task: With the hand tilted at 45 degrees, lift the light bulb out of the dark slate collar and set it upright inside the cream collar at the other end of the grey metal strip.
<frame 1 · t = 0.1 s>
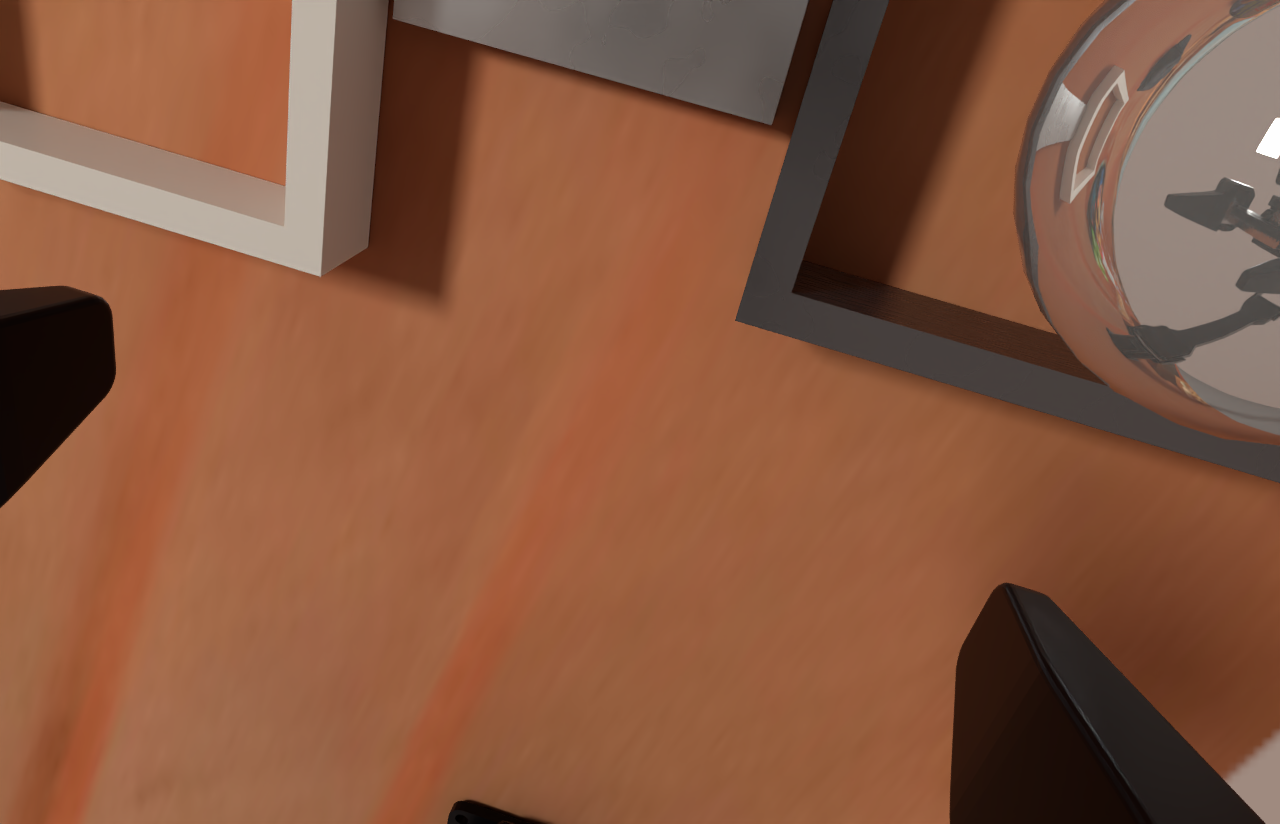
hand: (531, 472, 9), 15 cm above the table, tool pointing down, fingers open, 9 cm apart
light bulb: (1127, 88, 19), resting in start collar
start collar: (1129, 90, 19), on the table
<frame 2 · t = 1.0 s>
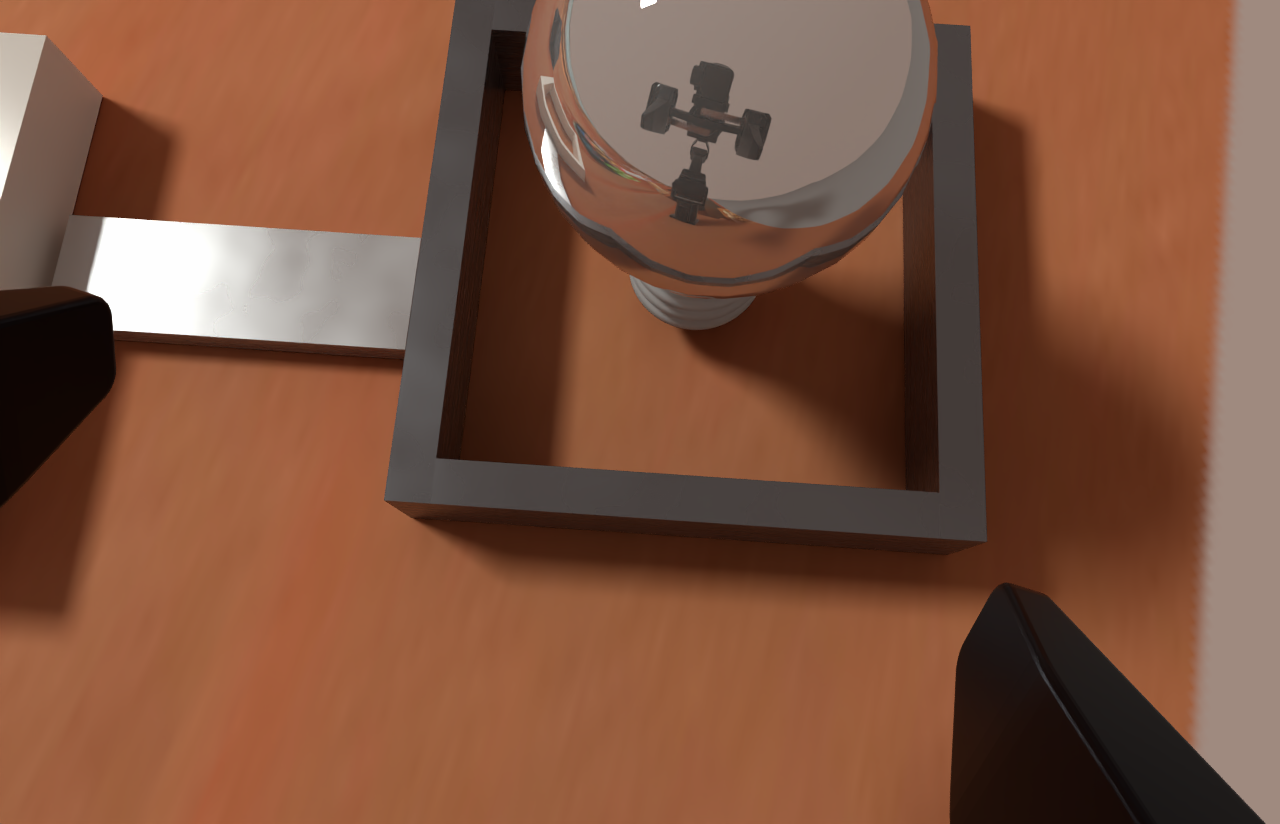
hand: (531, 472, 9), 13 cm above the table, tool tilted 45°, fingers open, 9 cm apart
light bulb: (692, 290, 24), resting in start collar
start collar: (692, 286, 24), on the table
rail strip: (247, 293, 24), on the table
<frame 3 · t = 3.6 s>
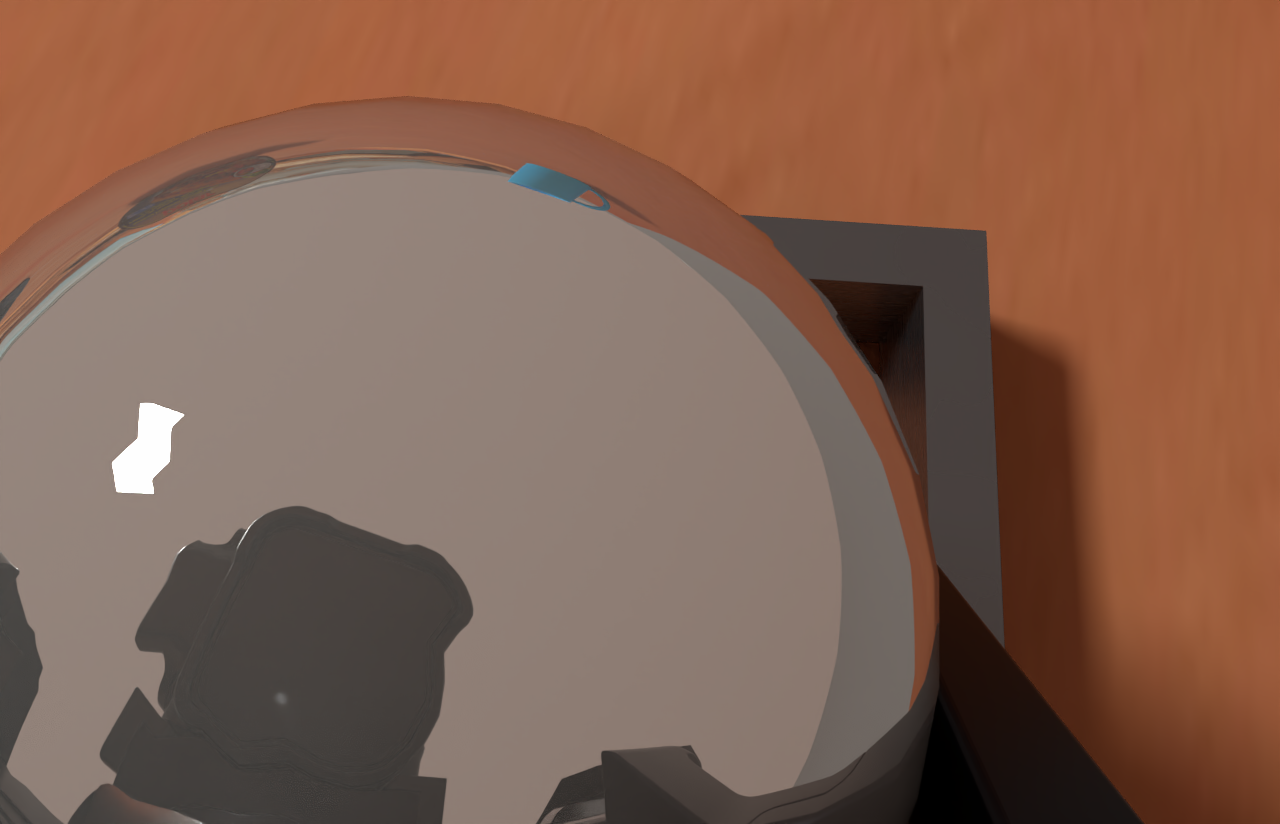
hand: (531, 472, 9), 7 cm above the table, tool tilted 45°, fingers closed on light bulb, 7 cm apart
light bulb: (545, 638, 15), resting in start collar, touching gripper
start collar: (544, 638, 15), on the table
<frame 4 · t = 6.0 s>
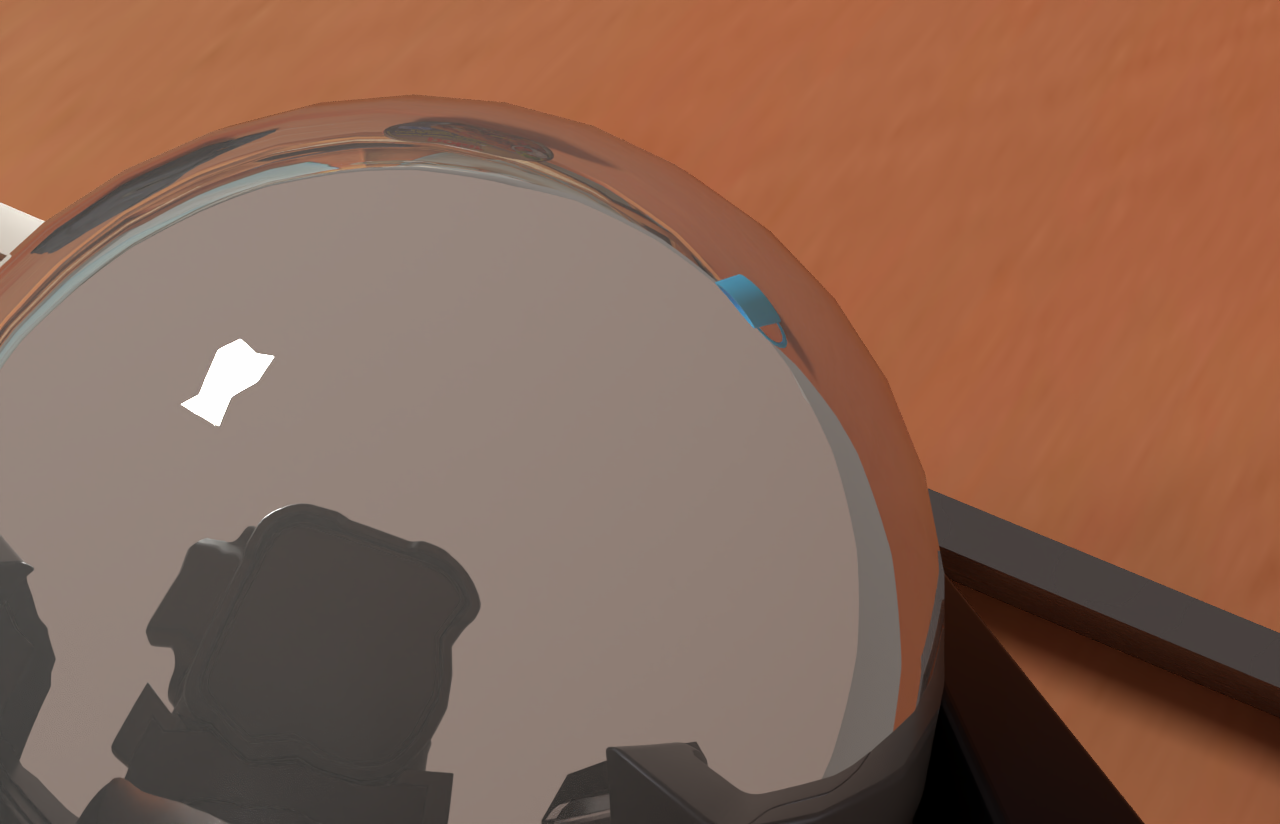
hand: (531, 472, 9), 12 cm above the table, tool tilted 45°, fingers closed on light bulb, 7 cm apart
light bulb: (550, 637, 15), point 5 cm above the table, touching gripper
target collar: (23, 547, 20), on the table
when the fingers open (8 cm above the table, at t = 8.3 s): light bulb drops 1 cm, resting in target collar.
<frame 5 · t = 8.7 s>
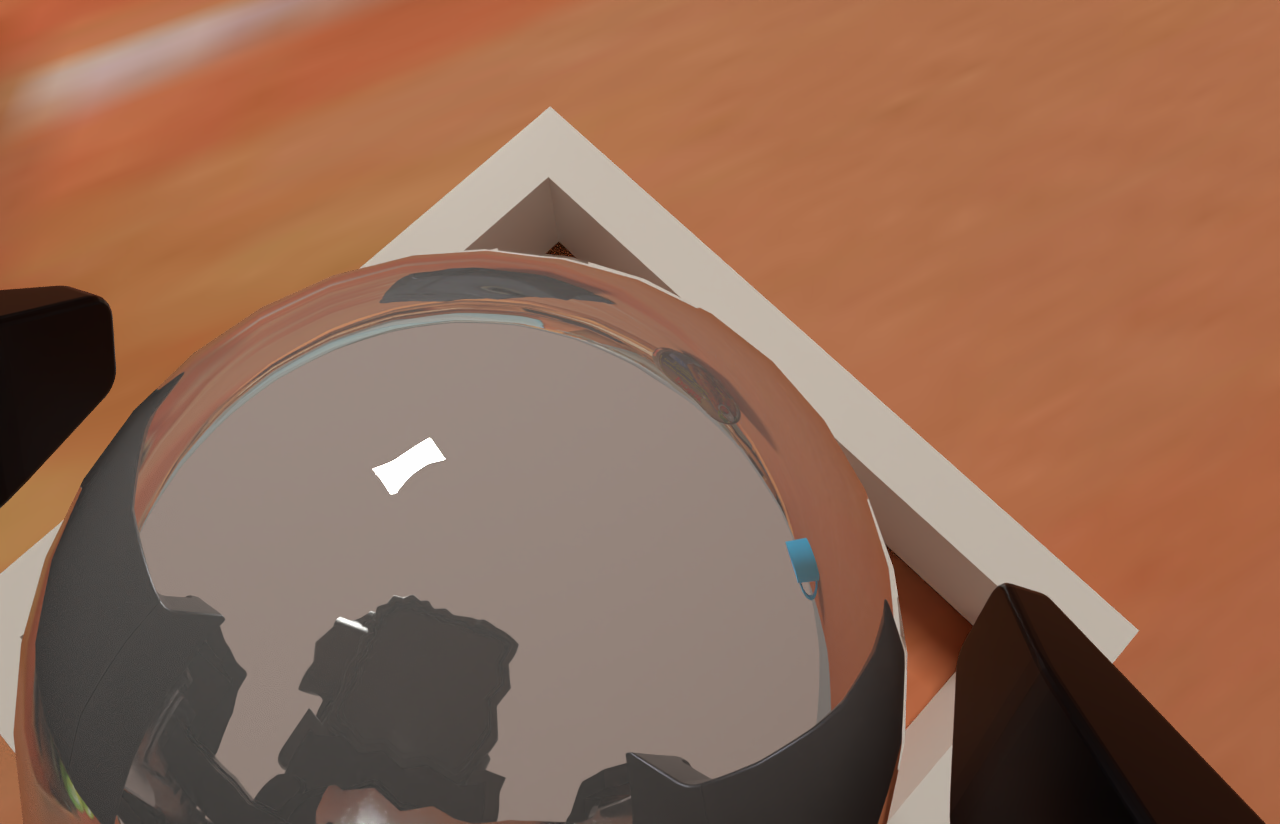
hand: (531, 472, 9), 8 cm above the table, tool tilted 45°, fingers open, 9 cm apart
light bulb: (555, 656, 16), resting in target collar
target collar: (550, 639, 16), on the table
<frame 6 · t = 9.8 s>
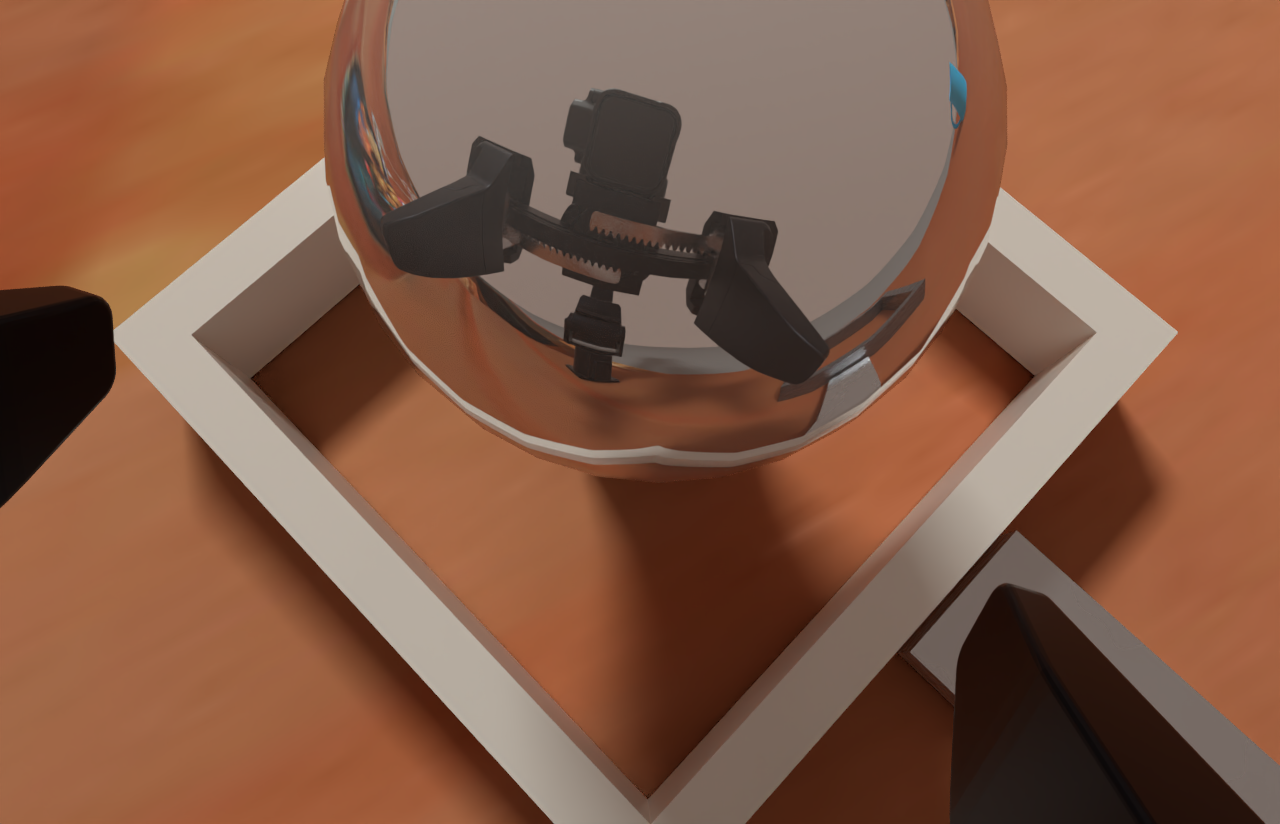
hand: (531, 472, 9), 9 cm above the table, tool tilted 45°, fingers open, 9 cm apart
light bulb: (648, 394, 18), resting in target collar
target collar: (644, 377, 18), on the table
rail strip: (1144, 774, 16), on the table
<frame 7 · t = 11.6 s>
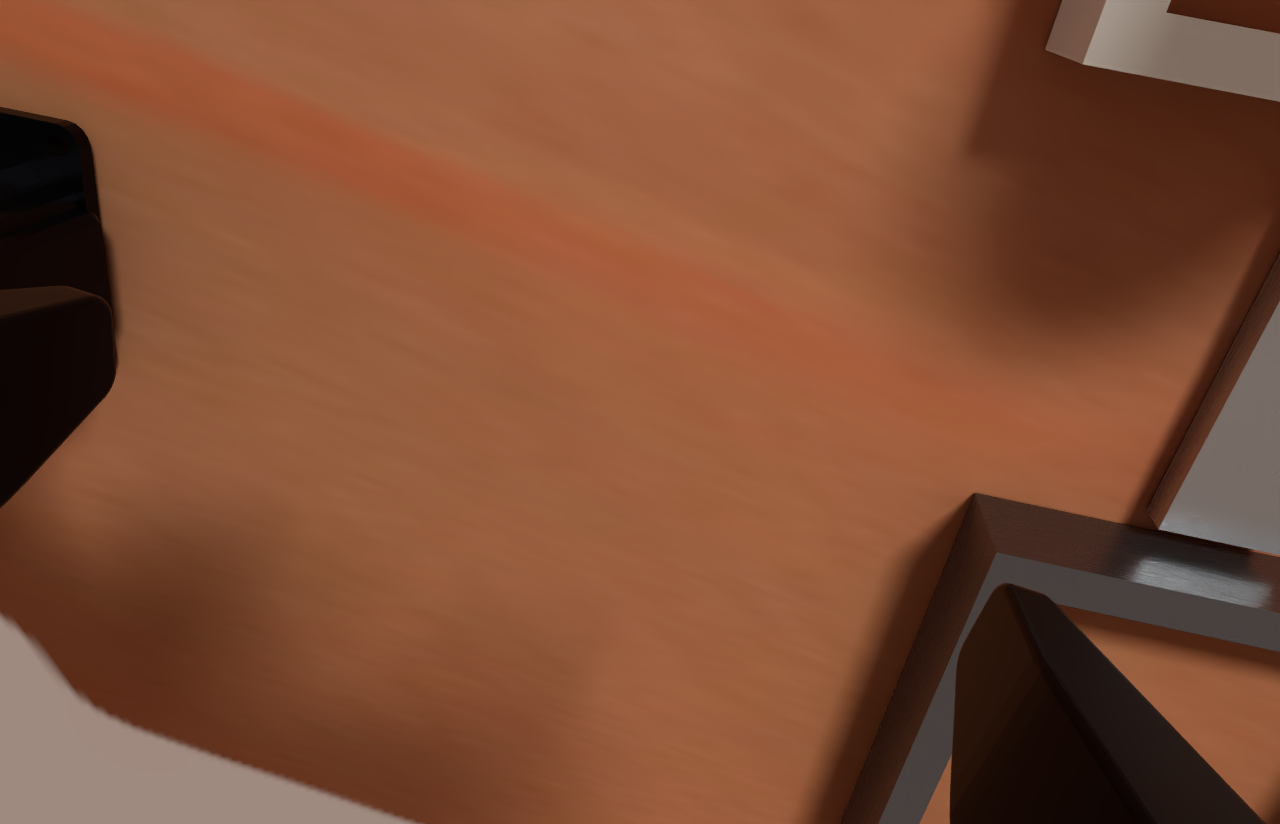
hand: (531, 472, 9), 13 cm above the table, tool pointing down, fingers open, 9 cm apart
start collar: (1129, 736, 25), on the table
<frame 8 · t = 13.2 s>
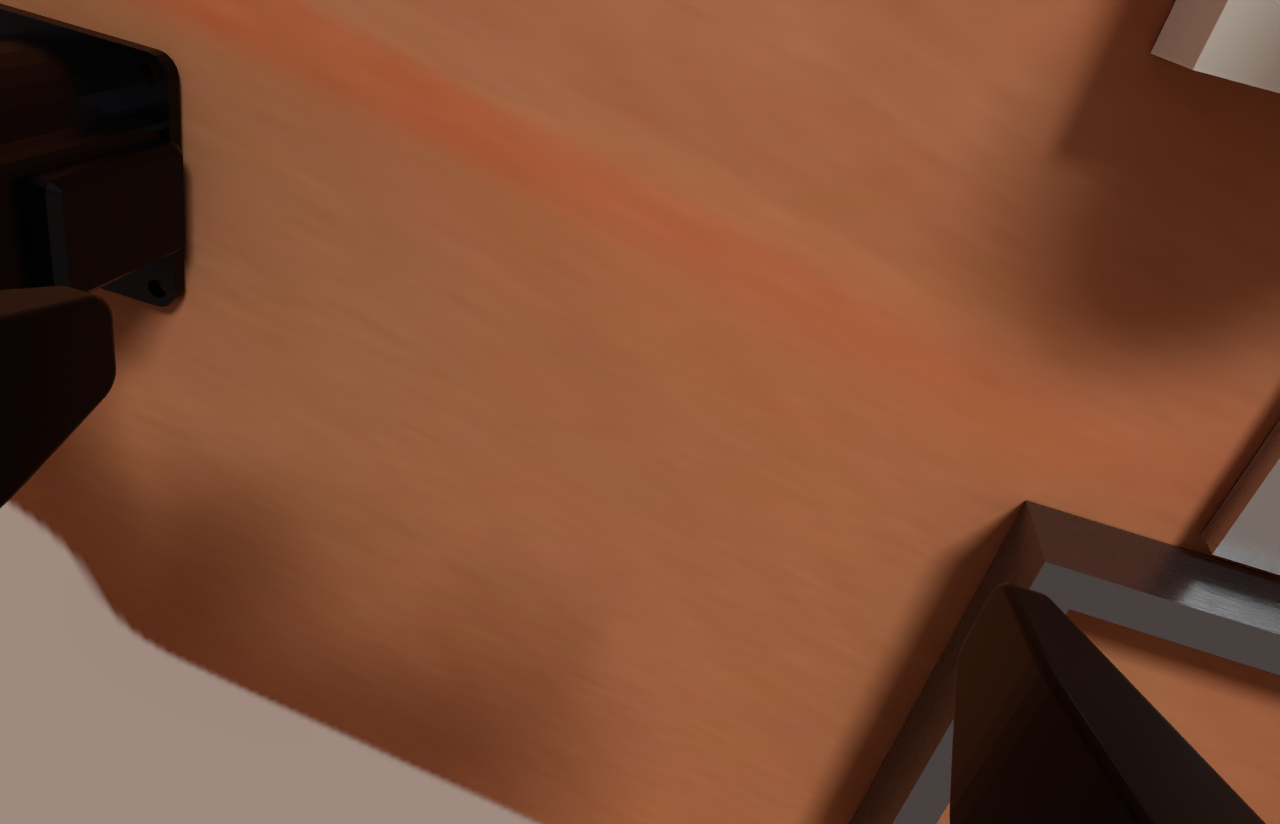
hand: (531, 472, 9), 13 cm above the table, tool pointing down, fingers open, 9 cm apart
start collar: (1157, 760, 25), on the table
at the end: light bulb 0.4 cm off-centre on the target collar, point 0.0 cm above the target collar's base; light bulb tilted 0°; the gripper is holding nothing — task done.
